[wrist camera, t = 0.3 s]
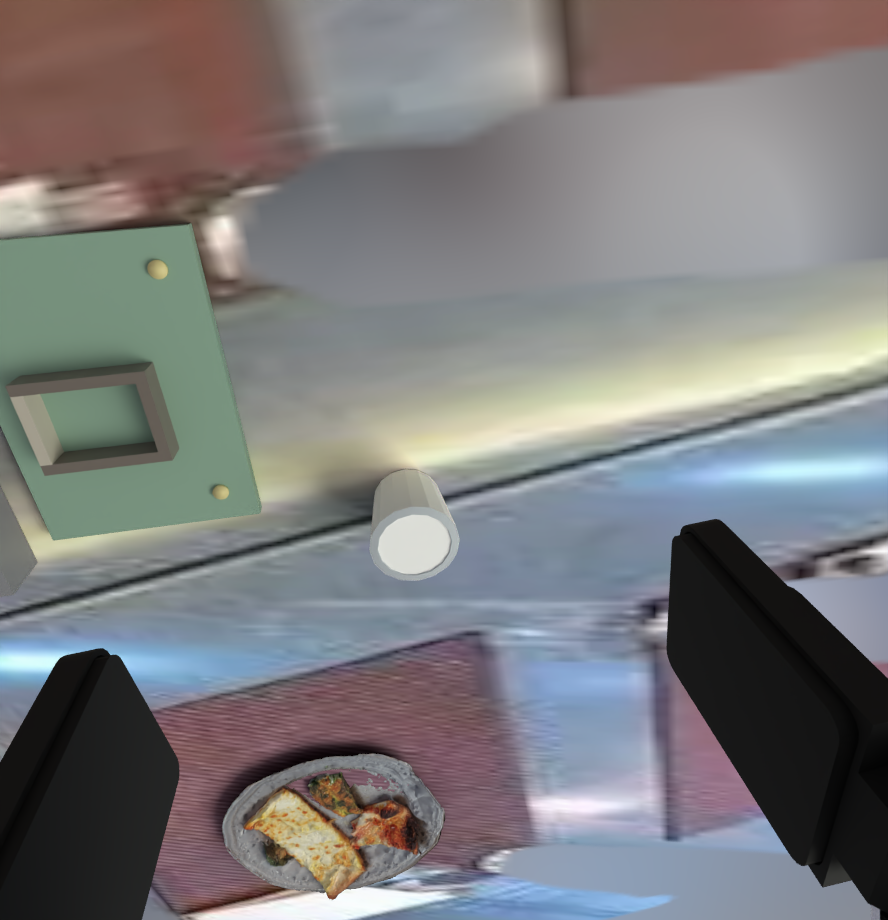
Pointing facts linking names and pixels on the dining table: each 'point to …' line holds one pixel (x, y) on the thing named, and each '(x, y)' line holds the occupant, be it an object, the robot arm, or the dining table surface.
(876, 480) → the dining table surface
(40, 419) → the socket
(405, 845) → the food plate
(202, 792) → the dining table surface
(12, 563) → the grey push button box
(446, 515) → the gray cup
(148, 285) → the board
